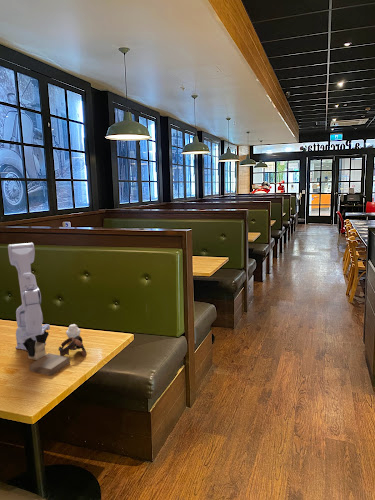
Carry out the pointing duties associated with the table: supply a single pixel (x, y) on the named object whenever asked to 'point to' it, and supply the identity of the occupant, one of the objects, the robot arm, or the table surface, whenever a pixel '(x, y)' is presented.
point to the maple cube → (38, 351)
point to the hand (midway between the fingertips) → (36, 353)
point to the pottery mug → (72, 346)
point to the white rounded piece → (73, 331)
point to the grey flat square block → (49, 364)
